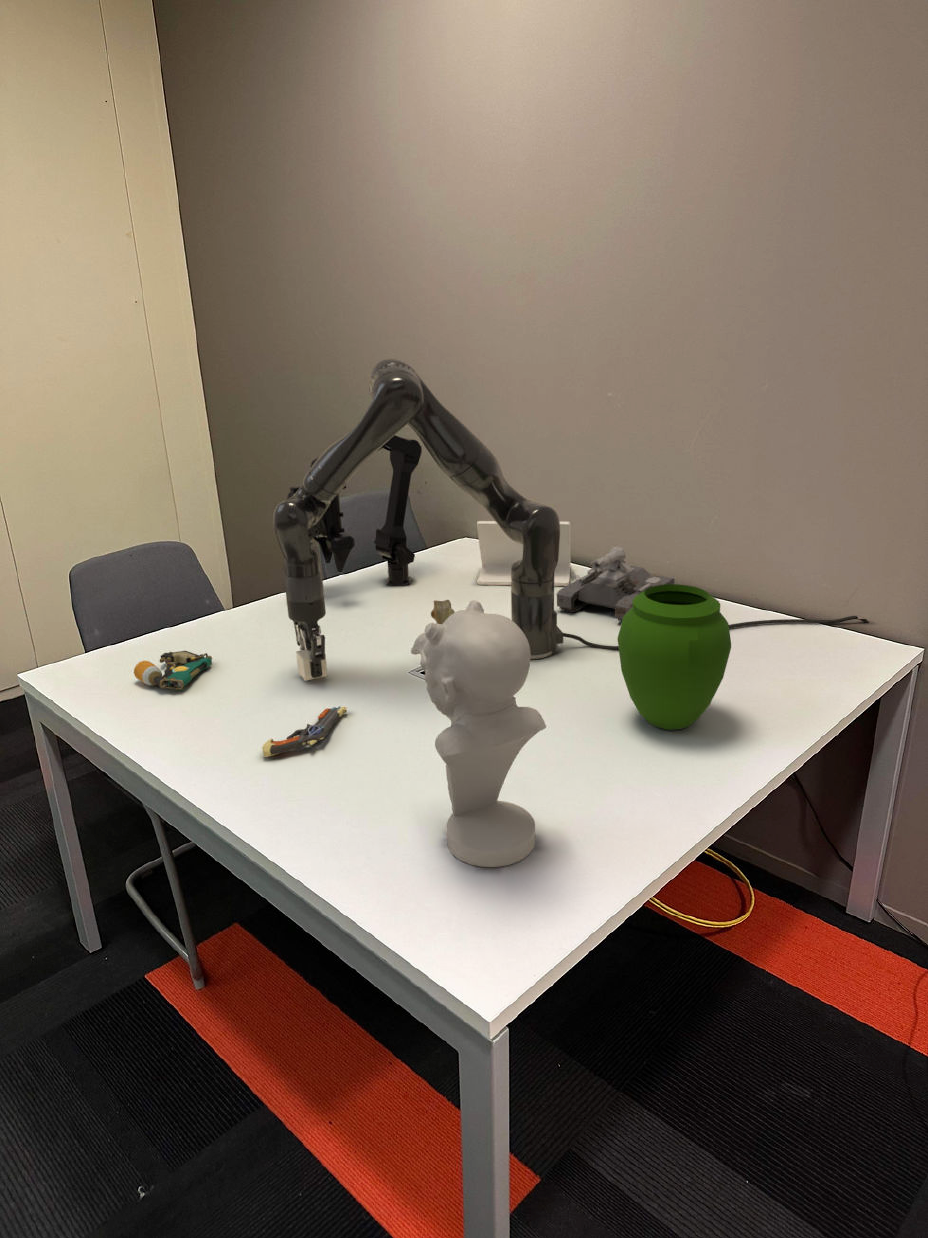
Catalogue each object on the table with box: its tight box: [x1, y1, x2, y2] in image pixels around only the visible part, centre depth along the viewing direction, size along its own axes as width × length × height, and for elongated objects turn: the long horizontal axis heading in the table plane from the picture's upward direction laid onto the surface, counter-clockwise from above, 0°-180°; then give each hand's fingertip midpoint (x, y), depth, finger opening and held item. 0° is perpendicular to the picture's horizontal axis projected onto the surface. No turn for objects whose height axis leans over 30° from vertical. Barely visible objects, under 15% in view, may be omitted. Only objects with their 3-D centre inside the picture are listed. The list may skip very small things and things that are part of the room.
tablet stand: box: [476, 520, 572, 587], centre depth 236 cm, size 18×25×17 cm
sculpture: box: [430, 599, 456, 624], centre depth 177 cm, size 6×7×15 cm
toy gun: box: [261, 705, 348, 758], centre depth 154 cm, size 3×19×10 cm
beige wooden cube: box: [295, 649, 328, 682], centre depth 177 cm, size 5×5×5 cm
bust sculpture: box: [410, 599, 547, 868], centre depth 121 cm, size 16×24×35 cm
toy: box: [556, 546, 676, 622], centre depth 212 cm, size 25×20×15 cm
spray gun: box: [133, 650, 213, 690], centre depth 180 cm, size 4×17×15 cm
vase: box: [616, 583, 732, 731], centre depth 151 cm, size 20×20×24 cm
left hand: (333, 567), depth 221 cm, fingers open, 9 cm apart
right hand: (312, 671), depth 177 cm, fingers closed on beige wooden cube, 4 cm apart
